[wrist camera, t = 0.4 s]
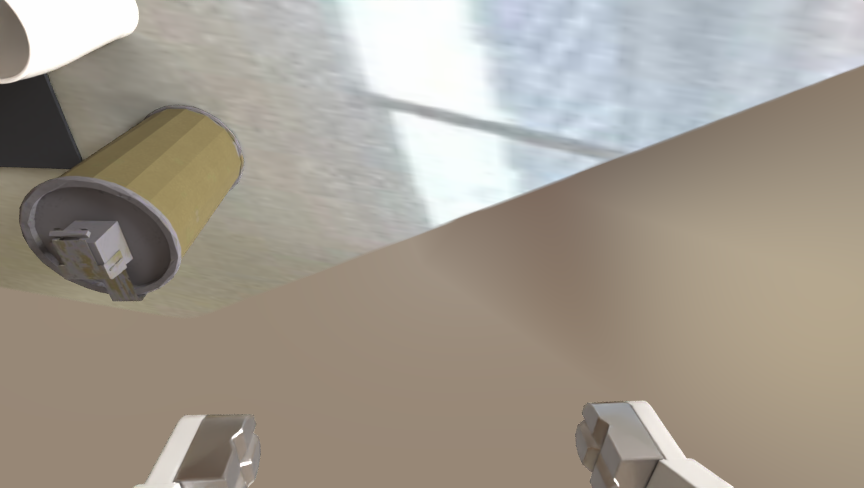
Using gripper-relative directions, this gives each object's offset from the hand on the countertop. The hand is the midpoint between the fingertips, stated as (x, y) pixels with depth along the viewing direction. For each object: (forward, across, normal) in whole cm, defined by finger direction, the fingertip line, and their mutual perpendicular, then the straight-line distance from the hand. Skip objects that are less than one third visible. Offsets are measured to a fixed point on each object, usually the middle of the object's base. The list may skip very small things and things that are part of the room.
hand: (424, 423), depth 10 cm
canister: (+40, +22, +5) cm, 46 cm away
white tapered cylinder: (+38, +26, -9) cm, 47 cm away
